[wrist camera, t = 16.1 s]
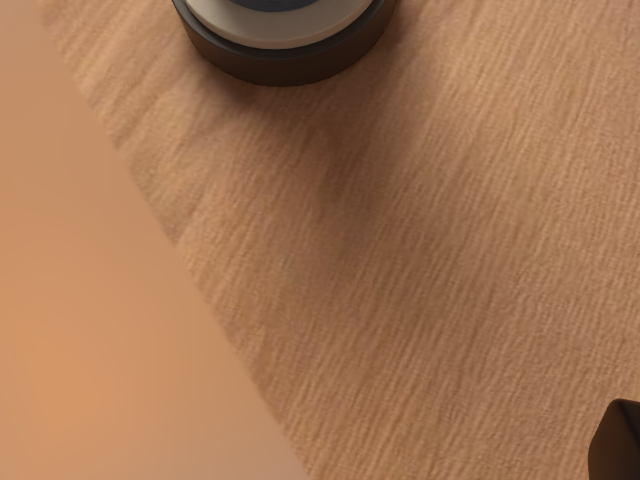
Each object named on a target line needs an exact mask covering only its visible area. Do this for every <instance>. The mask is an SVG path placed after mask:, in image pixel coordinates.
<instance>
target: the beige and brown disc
mask: <svg viewBox="0 0 640 480" xmlns="http://www.w3.org/2000/svg"><path fill="white" fill-rule="evenodd" d="M172 2H173V4H174V6H175V8H176V10H177V12H178V14H179V16H180V19H181V21H182V23H183V25H184V27H185V29H186V31H187V33H188V35H189V37H190V38H191V40H192V42H193V43H194V45H195V46H196V48H197V49H198V50H199V51H200V52H201V53H202V54H203V55H204V56H205V58H207V59H208V60H209V61H210V62H211V63H213V64H214V65H215V66H216V67H218V68H220V69H221V70H223V71H224V72H226V73H228V74H230V75H232V76H235V77H237V78H239V79H242V80H245V81H248V82H251V83H255V84H261V85H267V86H297V85H303V84H308V83H313V82H316V81H319V80H322V79H325V78H328V77H330V76H332V75H335V74H337V73H339V72H341V71H343V70H344V69H346V68H348V67H349V66H351V65H352V64H354V63H355V62H356V61H358V60H359V59H360V58H361V57H363V56H364V55H365V54H366V53H367V52H368V51H369V50H370V49H371V48H372V47H373V46H374V45H375V43H376V42H377V41H378V39H379V38H380V37H381V35H382V34H383V32H384V30H385V29H386V27H387V25H388V23H389V21H390V18H391V16H392V13H393V11H394V7H395V2H396V0H318V1H316V2H314V3H312V4H310V5H308V6H305V7H302V8H299V9H294V10H290V11H282V12H265V11H257V10H253V9H248V8H245V7H243V6H240V5H238V4H236V3H234V2H232V1H230V0H172Z"/></svg>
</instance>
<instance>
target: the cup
mask: <svg viewBox="0 0 640 480" xmlns="http://www.w3.org/2000/svg"><path fill="white" fill-rule="evenodd" d="M230 1H232V2H234V3H236V4H238V5H240V6H243V7H245V8H248V9H253V10H257V11H265V12H282V11H290V10H294V9H299V8H302V7H305V6H308V5H310V4H312V3H314V2H316V1H318V0H230Z"/></svg>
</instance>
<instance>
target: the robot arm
mask: <svg viewBox="0 0 640 480" xmlns="http://www.w3.org/2000/svg"><path fill="white" fill-rule="evenodd" d="M588 471H589V480H640V402H637V401H631V400H626V399H615V400H613V401H612V402H611V403H610V404H609V406H608V407H607V409H606V411H605V413H604V416H603V418H602V420H601V422H600V424H599V426H598V428H597V430H596V432H595V435H594V437H593V439H592V441H591V443H590V447H589V452H588Z"/></svg>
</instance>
